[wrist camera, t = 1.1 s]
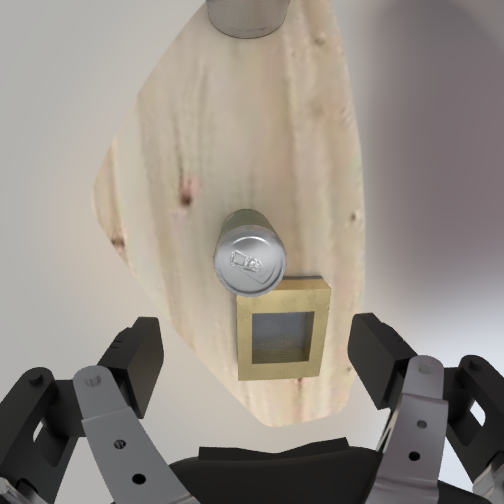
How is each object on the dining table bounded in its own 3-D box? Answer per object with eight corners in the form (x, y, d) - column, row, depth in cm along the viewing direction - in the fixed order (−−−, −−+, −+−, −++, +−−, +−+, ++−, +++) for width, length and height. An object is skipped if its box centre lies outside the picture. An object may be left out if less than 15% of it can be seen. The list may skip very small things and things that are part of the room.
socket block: (236, 277, 32) (236, 290, 29) (321, 276, 33) (331, 288, 29) (238, 361, 36) (238, 380, 32) (312, 358, 36) (318, 376, 32)
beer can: (214, 244, 31) (200, 283, 20) (234, 200, 30) (231, 213, 19) (257, 263, 32) (268, 310, 21) (278, 220, 31) (302, 246, 19)
